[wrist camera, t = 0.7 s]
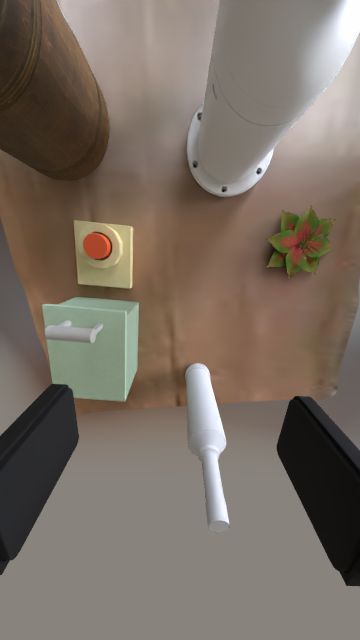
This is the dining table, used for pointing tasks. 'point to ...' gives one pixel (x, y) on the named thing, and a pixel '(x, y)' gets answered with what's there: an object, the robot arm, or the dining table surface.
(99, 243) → the button
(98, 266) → the control block
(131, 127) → the dining table surface
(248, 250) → the dining table surface
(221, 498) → the bottle
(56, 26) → the wooden container
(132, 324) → the compartment
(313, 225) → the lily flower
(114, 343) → the lid
